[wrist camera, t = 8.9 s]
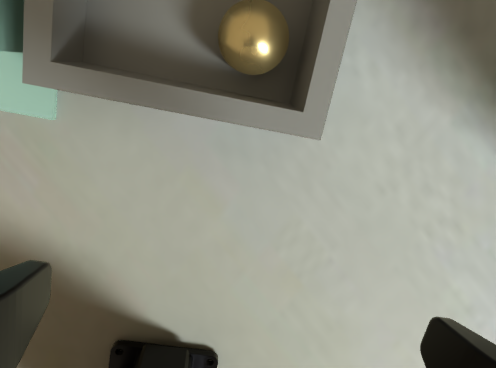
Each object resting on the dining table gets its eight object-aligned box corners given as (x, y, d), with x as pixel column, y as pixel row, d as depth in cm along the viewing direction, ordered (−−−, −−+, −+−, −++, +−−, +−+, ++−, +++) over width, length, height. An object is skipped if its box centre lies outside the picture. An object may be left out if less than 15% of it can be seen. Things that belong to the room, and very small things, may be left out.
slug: (274, 79, 18) (280, 81, 16) (213, 67, 18) (212, 67, 16) (288, 13, 17) (296, 7, 15) (224, -1, 17) (224, -10, 15)
